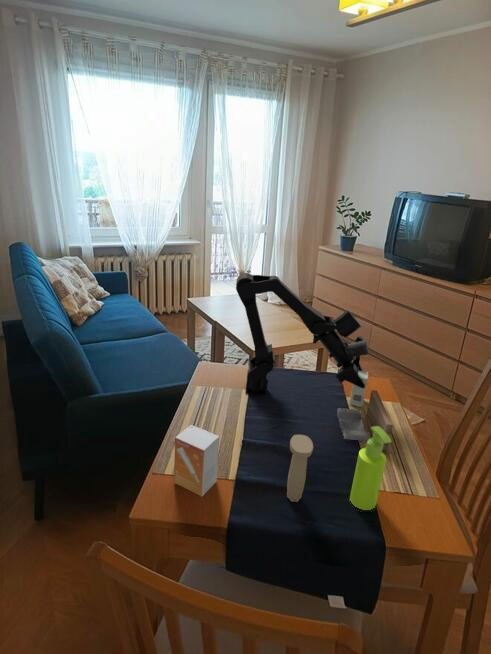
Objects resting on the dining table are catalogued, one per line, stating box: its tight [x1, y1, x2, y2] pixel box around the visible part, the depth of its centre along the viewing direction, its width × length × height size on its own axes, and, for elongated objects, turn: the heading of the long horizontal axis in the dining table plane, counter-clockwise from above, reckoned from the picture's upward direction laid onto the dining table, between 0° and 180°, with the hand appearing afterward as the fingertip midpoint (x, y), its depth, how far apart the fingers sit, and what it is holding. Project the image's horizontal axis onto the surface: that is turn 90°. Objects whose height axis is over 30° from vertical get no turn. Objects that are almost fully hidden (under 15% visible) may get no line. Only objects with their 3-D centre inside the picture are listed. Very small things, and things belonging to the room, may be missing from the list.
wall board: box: [366, 389, 394, 454], centre depth 126 cm, size 3×18×9 cm, turn 178°
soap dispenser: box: [349, 426, 393, 510], centre depth 97 cm, size 6×7×20 cm
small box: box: [173, 424, 220, 498], centre depth 101 cm, size 8×6×13 cm
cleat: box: [336, 407, 371, 443], centre depth 129 cm, size 7×14×2 cm, turn 178°
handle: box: [286, 434, 314, 503], centre depth 98 cm, size 5×6×15 cm
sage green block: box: [349, 370, 369, 408], centre depth 141 cm, size 4×6×10 cm
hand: (364, 383), depth 141 cm, fingers open, 6 cm apart
